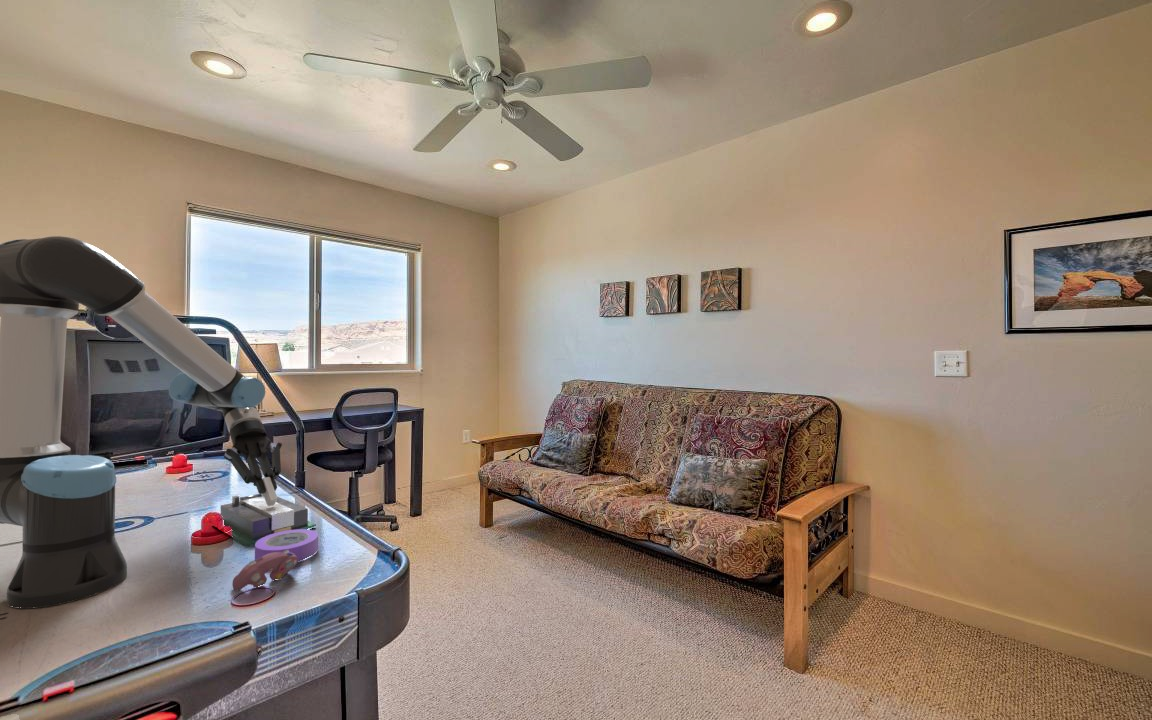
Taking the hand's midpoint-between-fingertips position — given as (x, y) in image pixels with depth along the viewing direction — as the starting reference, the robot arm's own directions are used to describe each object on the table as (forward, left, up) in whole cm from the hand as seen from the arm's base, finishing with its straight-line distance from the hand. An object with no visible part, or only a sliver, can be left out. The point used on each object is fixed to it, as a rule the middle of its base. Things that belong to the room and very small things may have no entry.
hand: (272, 502), depth 117 cm
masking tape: (-18, -5, -8) cm, 20 cm away
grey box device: (+4, +3, -7) cm, 9 cm away
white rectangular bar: (+4, +2, -5) cm, 6 cm away
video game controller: (-31, -4, -7) cm, 32 cm away
